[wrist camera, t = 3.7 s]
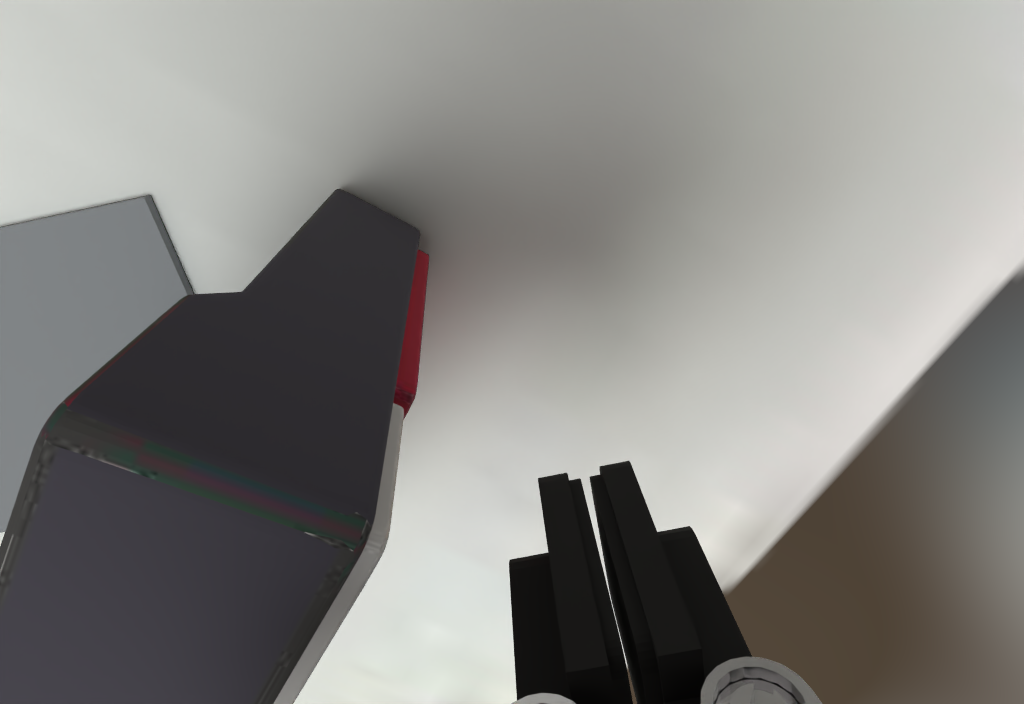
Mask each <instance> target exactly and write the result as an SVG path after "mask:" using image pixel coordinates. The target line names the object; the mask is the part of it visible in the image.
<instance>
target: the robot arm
mask: <svg viewBox="0 0 1024 704" xmlns="http://www.w3.org/2000/svg"><path fill="white" fill-rule="evenodd" d="M538 482H539V489H540V496H541V503H542V510H543V517H544V524H545V531H546V538H547V545H548V552H549V553H544V554H538V555H533V556H528V557H522V558H517V559H512V560H510V562H509V572H510V589H511V605H512V622H513V639H514V656H515V673H516V689H517V701H515V702H513V703H512V704H633V702H632V696H631V691H630V684H629V679H628V673H627V668H626V663H625V658H624V654H623V649H622V645H621V641H620V637H619V632H620V636H621V640H622V644H623V648H624V652H625V656H626V660H627V664H628V668H629V672H630V676H631V680H632V684H633V688H634V692H635V697H636V701H637V704H822V703H821V701H820V700H819V699H818V697H817V696H816V695H815V693H814V692H813V690H812V689H811V688H810V687H809V686H808V685H807V684H806V683H805V681H804V680H803V679H802V678H801V677H800V676H799V675H798V674H796V673H794V672H793V671H792V670H790V669H788V668H787V667H785V666H784V665H782V664H780V663H777V662H774V661H771V660H768V659H765V658H756V657H752V655H751V653H750V651H749V649H748V647H747V645H746V643H745V640H744V638H743V636H742V634H741V632H740V630H739V627H738V625H737V623H736V621H735V619H734V617H733V615H732V613H731V610H730V608H729V606H728V604H727V602H726V599H725V597H724V595H723V593H722V591H721V589H720V587H719V584H718V582H717V580H716V578H715V576H714V574H713V572H712V569H711V567H710V565H709V563H708V561H707V559H706V556H705V554H704V552H703V550H702V548H701V546H700V544H699V541H698V539H697V537H696V535H695V533H694V531H693V530H692V528H691V527H690V526H688V527H683V528H677V529H672V530H667V531H661V532H657V531H656V528H655V525H654V523H653V520H652V518H651V515H650V512H649V510H648V507H647V505H646V502H645V499H644V497H643V494H642V492H641V489H640V486H639V484H638V481H637V479H636V476H635V473H634V471H633V468H632V466H631V463H630V462H629V461H626V462H621V463H615V464H610V465H605V466H600V475H596V476H591V477H590V483H591V488H592V494H593V500H594V505H595V511H596V517H597V522H598V528H599V534H600V539H601V545H602V551H603V556H604V562H605V568H606V574H607V579H608V585H609V590H610V595H611V600H612V604H613V608H614V612H615V616H616V620H617V624H618V628H619V632H618V628H617V624H616V620H615V616H614V612H613V608H612V604H611V600H610V596H609V592H608V588H607V584H606V580H605V576H604V572H603V568H602V564H601V560H600V556H599V551H598V547H597V543H596V539H595V535H594V531H593V527H592V523H591V519H590V515H589V511H588V507H587V503H586V499H585V495H584V491H583V487H582V483H581V479H575V480H570V481H569V479H568V474H567V473H563V474H558V475H553V476H547V477H542V478H538Z"/></svg>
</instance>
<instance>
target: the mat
mask: <svg viewBox="0 0 1024 704" xmlns="http://www.w3.org/2000/svg"><path fill="white" fill-rule="evenodd" d="M193 294H194V293H193V291H192V289H191V286H190V284H189V282H188V280H187V277H186V275H185V273H184V270H183V268H182V266H181V264H180V261H179V259H178V257H177V255H176V252H175V250H174V248H173V246H172V243H171V241H170V239H169V236H168V234H167V232H166V230H165V227H164V225H163V223H162V221H161V218H160V216H159V214H158V212H157V209H156V207H155V205H154V202H153V200H152V198H151V196H150V195H148V196H143V197H139V198H134V199H129V200H125V201H120V202H115V203H111V204H106V205H101V206H97V207H92V208H87V209H82V210H78V211H73V212H68V213H64V214H59V215H54V216H50V217H45V218H40V219H36V220H31V221H26V222H22V223H17V224H12V225H8V226H3V227H0V532H5V531H6V528H7V525H8V522H9V519H10V516H11V513H12V510H13V507H14V504H15V501H16V498H17V495H18V492H19V489H20V486H21V483H22V480H23V477H24V474H25V471H26V468H27V465H28V462H29V459H30V456H31V453H32V450H33V447H34V444H35V442H36V440H37V438H38V435H39V433H40V431H41V429H42V428H43V426H44V424H45V423H46V421H47V419H48V418H49V417H50V415H51V414H52V412H53V411H54V410H55V409H56V408H57V406H58V405H59V404H60V403H61V402H62V401H64V400H65V399H66V398H67V397H68V396H69V395H70V394H71V393H72V392H73V391H74V390H76V389H77V388H78V387H79V386H80V385H81V384H83V383H84V382H85V381H86V380H87V379H88V378H90V377H91V376H92V375H93V374H94V373H95V372H96V371H98V370H99V369H100V368H101V367H102V366H103V365H105V364H106V363H107V362H108V361H109V360H110V359H111V358H113V357H114V356H115V355H116V354H117V353H118V352H120V351H121V350H122V349H123V348H124V347H125V346H127V345H128V344H129V343H130V342H131V341H132V340H133V339H135V338H136V337H137V336H138V335H139V334H140V333H142V332H143V331H144V330H145V329H146V328H147V327H148V326H150V325H151V324H152V323H153V322H154V321H155V320H157V319H158V318H159V317H160V316H161V315H162V314H164V313H165V312H166V311H167V310H168V309H169V308H171V307H172V306H173V305H174V304H175V303H177V302H178V301H179V300H180V299H182V298H183V297H185V296H187V295H193Z"/></svg>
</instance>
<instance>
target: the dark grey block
mask: <svg viewBox="0 0 1024 704" xmlns="http://www.w3.org/2000/svg"><path fill="white" fill-rule="evenodd" d="M419 239H420V231H419V230H418V229H416V228H415V227H413V226H411V225H409V224H407V223H405V222H403V221H401V220H399V219H398V218H396V217H394V216H392V215H390V214H388V213H386V212H384V211H382V210H380V209H378V208H377V207H375V206H373V205H371V204H369V203H367V202H365V201H363V200H361V199H359V198H357V197H355V196H353V195H351V194H350V193H348V192H346V191H344V190H341V189H337V190H335V191H334V192H333V193H332V194H331V196H330V197H329V198H328V199H327V200H326V201H325V202H324V203H323V204H322V205H321V207H320V208H319V209H318V210H317V211H316V212H315V213H314V214H313V215H312V216H311V217H310V219H309V220H308V221H307V222H306V223H305V224H304V225H303V226H302V227H301V228H300V230H299V231H298V232H297V233H296V234H295V235H294V236H293V237H292V238H291V239H290V240H289V242H288V243H287V244H286V245H285V246H284V247H283V248H282V249H281V250H280V251H279V252H278V254H277V255H276V256H275V257H274V258H273V259H272V260H271V261H270V262H269V263H268V265H267V266H266V267H265V268H264V269H263V270H262V271H261V272H260V273H259V274H258V275H257V276H256V278H255V279H254V280H253V281H252V282H251V283H250V284H249V285H248V286H247V287H246V288H245V289H244V290H243V291H242V292H234V293H213V294H193V295H187V296H185V297H183V298H182V299H180V300H179V301H178V302H177V303H175V304H174V305H173V306H172V307H171V308H169V309H168V310H167V311H166V312H165V313H164V314H162V315H161V316H160V317H159V318H158V319H157V320H155V321H154V322H153V323H152V324H151V325H150V326H148V327H147V328H146V329H145V330H144V331H143V332H142V333H140V334H139V335H138V336H137V337H136V338H135V339H133V340H132V341H131V342H130V343H129V344H128V345H127V346H125V347H124V348H123V349H122V350H121V351H120V352H118V353H117V354H116V355H115V356H114V357H113V358H111V359H110V360H109V361H108V362H107V363H106V364H105V365H103V366H102V367H101V368H100V369H99V370H98V371H96V372H95V373H94V374H93V375H92V376H91V377H90V378H88V379H87V380H86V381H85V382H84V383H83V384H81V385H80V386H79V387H78V388H77V389H76V390H74V391H73V392H72V393H71V394H70V395H69V396H68V397H67V398H66V399H65V400H64V401H62V402H61V403H60V404H59V405H58V406H57V408H56V409H55V410H54V411H53V412H52V414H51V415H50V417H49V418H48V419H47V421H46V423H45V424H44V426H43V428H42V429H41V431H40V433H39V435H38V438H37V440H36V442H35V444H34V447H33V450H32V453H31V456H30V459H29V462H28V465H27V468H26V471H25V474H24V477H23V480H22V483H21V486H20V489H19V492H18V495H17V498H16V501H15V504H14V507H13V510H12V513H11V516H10V519H9V522H8V525H7V528H6V531H5V534H4V537H3V540H2V543H1V546H0V704H293V703H294V701H295V700H296V698H297V696H298V695H299V693H300V691H301V690H302V688H303V687H304V685H305V683H306V682H307V680H308V678H309V677H310V675H311V673H312V672H313V670H314V668H315V667H316V665H317V663H318V662H319V660H320V658H321V657H322V655H323V653H324V652H325V650H326V649H327V647H328V645H329V644H330V642H331V640H332V639H333V637H334V635H335V634H336V632H337V630H338V629H339V627H340V625H341V624H342V622H343V620H344V619H345V617H346V616H347V614H348V612H349V611H350V609H351V607H352V606H353V604H354V602H355V601H356V599H357V597H358V596H359V594H360V592H361V591H362V589H363V587H364V586H365V584H366V582H367V580H368V579H369V577H370V575H371V574H372V572H373V570H374V568H375V567H376V565H377V563H378V562H379V560H380V558H381V556H382V554H383V552H384V550H385V547H386V544H387V540H388V537H389V531H390V524H391V515H392V507H393V499H394V491H395V483H396V475H397V467H398V459H399V451H400V443H401V434H402V426H403V420H404V418H405V416H406V414H407V413H408V411H409V409H410V407H411V405H412V403H413V401H414V399H415V395H416V390H417V383H418V372H419V362H420V351H421V340H422V329H423V318H424V308H425V297H426V286H427V275H428V265H429V255H428V254H426V253H424V252H422V251H420V250H418V245H419Z"/></svg>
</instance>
